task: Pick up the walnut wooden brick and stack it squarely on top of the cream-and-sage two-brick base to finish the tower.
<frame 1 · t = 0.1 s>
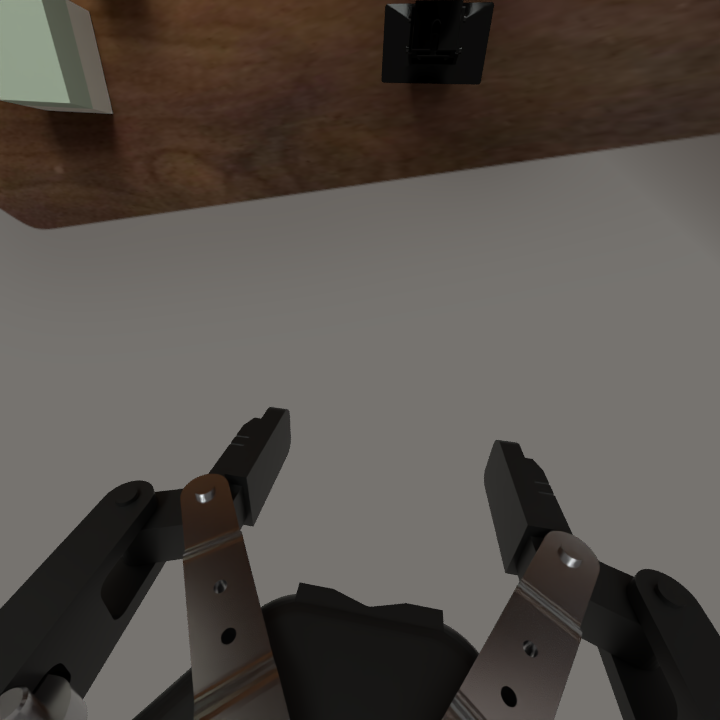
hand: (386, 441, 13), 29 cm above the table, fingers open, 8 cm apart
black angular block: (433, 48, 30), on the table
brick base: (66, 64, 34), on the table
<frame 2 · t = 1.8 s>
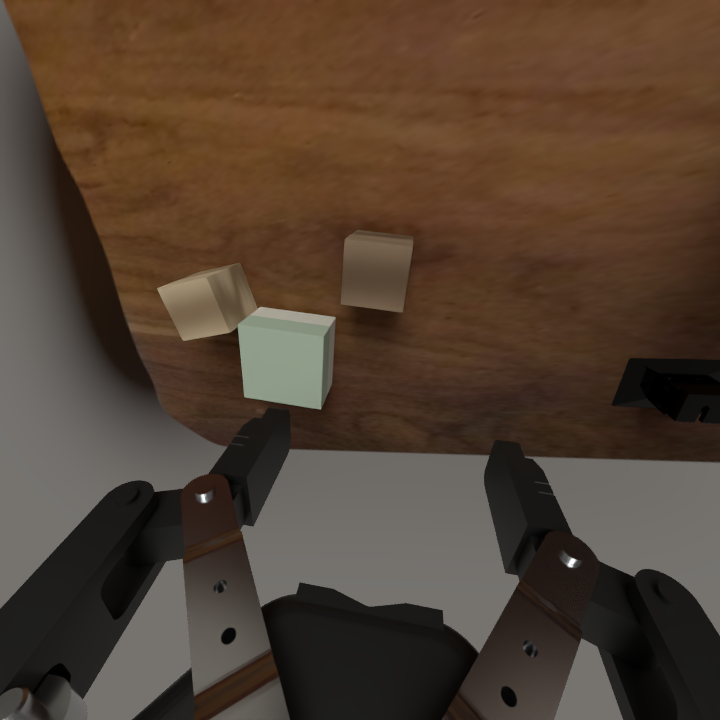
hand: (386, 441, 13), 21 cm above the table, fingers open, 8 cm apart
walnut brick: (381, 261, 30), on the table
black angular block: (668, 380, 32), on the table
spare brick: (228, 291, 34), on the table
brick base: (297, 346, 36), on the table
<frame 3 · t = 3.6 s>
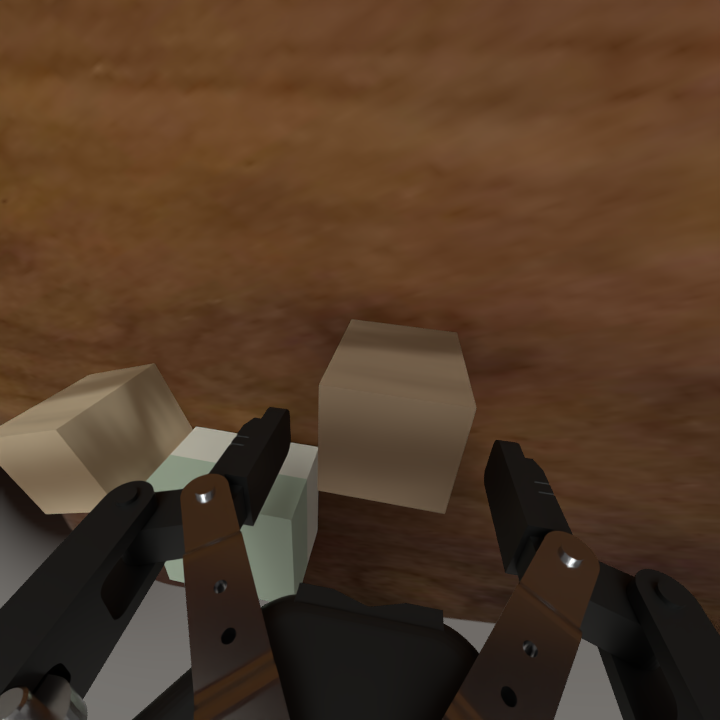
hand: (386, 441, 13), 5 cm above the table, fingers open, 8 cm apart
walnut brick: (396, 370, 17), on the table
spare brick: (143, 403, 21), on the table
brick base: (260, 481, 22), on the table
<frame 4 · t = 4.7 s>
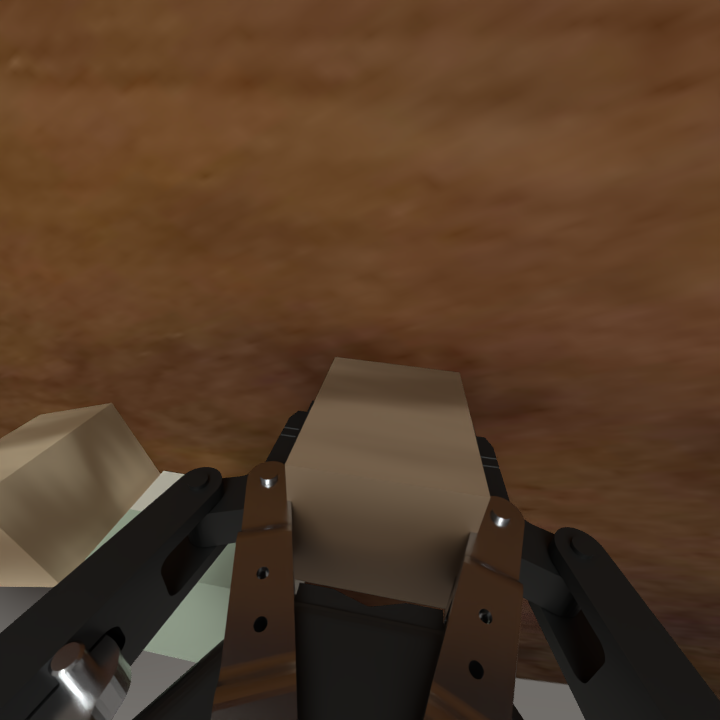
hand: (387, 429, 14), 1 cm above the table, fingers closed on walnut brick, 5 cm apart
walnut brick: (389, 414, 14), on the table, touching gripper
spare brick: (102, 445, 18), on the table
brick base: (239, 529, 20), on the table
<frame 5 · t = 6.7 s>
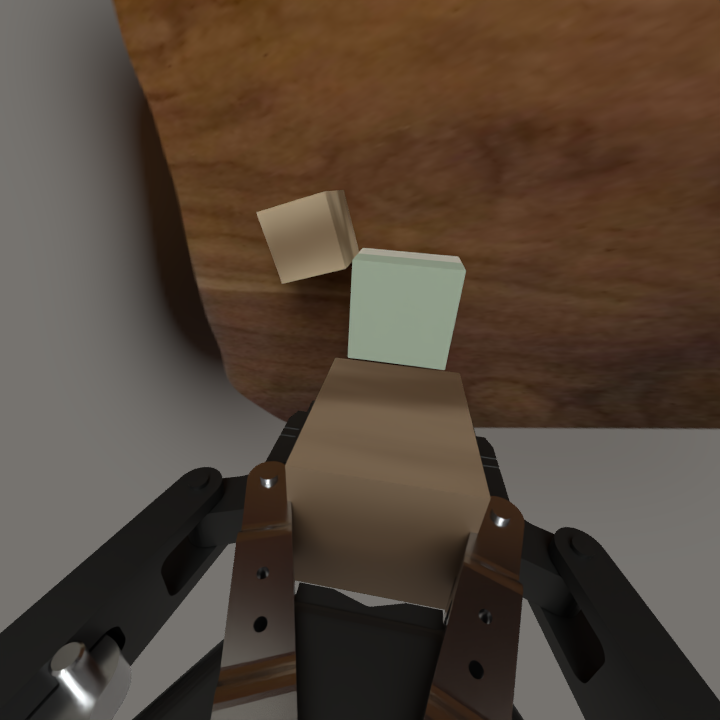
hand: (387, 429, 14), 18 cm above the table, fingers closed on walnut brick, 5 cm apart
walnut brick: (389, 415, 14), point 17 cm above the table, touching gripper
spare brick: (324, 230, 28), on the table
brick base: (404, 298, 30), on the table
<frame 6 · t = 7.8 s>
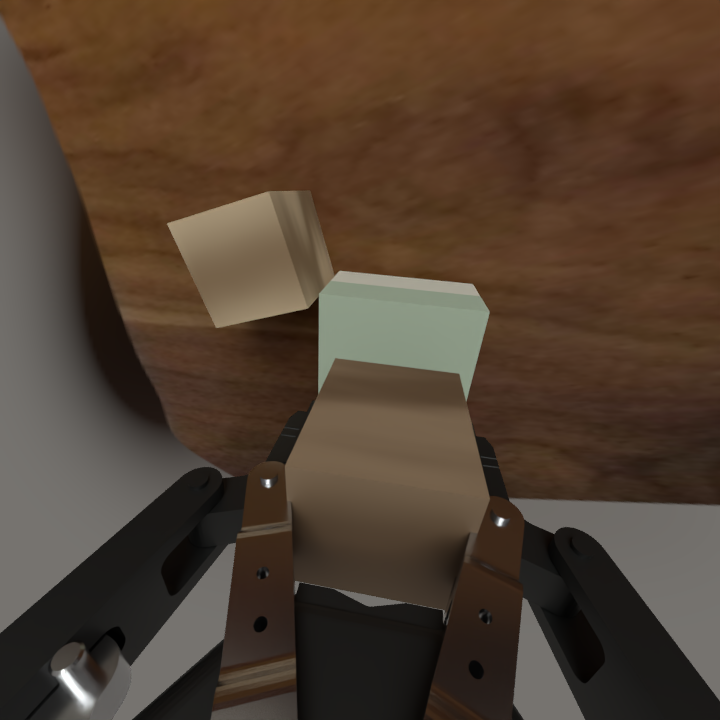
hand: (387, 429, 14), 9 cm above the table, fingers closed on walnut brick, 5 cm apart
walnut brick: (389, 415, 14), point 8 cm above the table, touching gripper
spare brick: (285, 246, 20), on the table
brick base: (397, 337, 22), on the table
when the fingers open (7 cm above the table, at t = 8.6 s): walnut brick drops 1 cm, resting on brick base.
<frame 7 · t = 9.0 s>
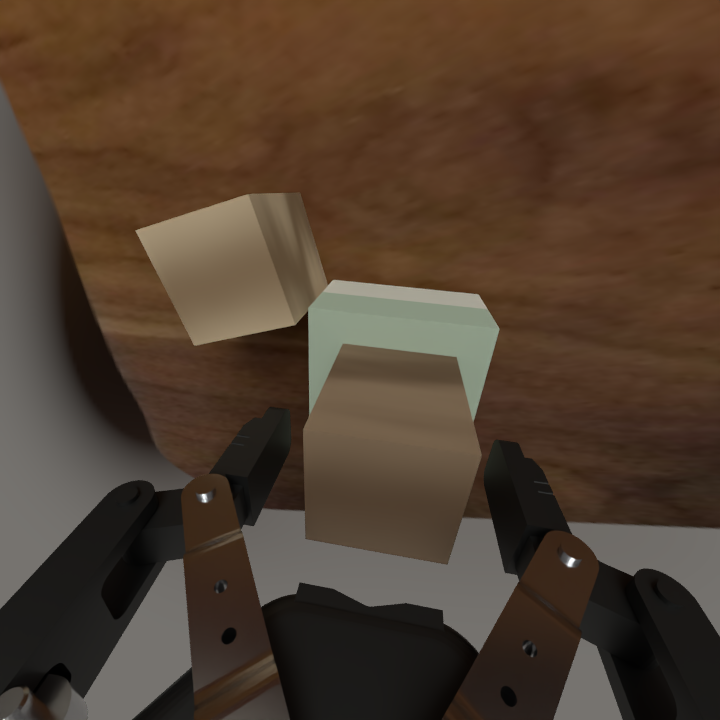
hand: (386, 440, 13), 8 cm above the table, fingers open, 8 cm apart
walnut brick: (392, 397, 16), point 5 cm above the table, touching brick base
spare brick: (274, 253, 18), on the table
brick base: (395, 351, 20), on the table
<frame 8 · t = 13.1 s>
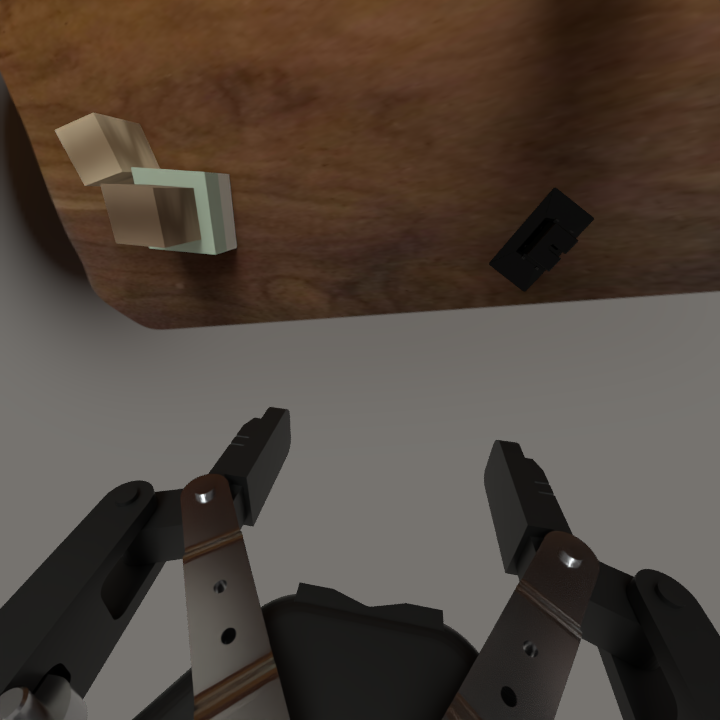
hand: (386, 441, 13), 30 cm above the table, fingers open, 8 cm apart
walnut brick: (175, 212, 35), point 5 cm above the table, touching brick base
black angular block: (536, 241, 37), on the table
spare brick: (134, 156, 38), on the table
brick base: (201, 210, 39), on the table
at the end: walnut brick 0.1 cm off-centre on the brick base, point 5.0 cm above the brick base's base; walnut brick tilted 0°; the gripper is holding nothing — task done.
